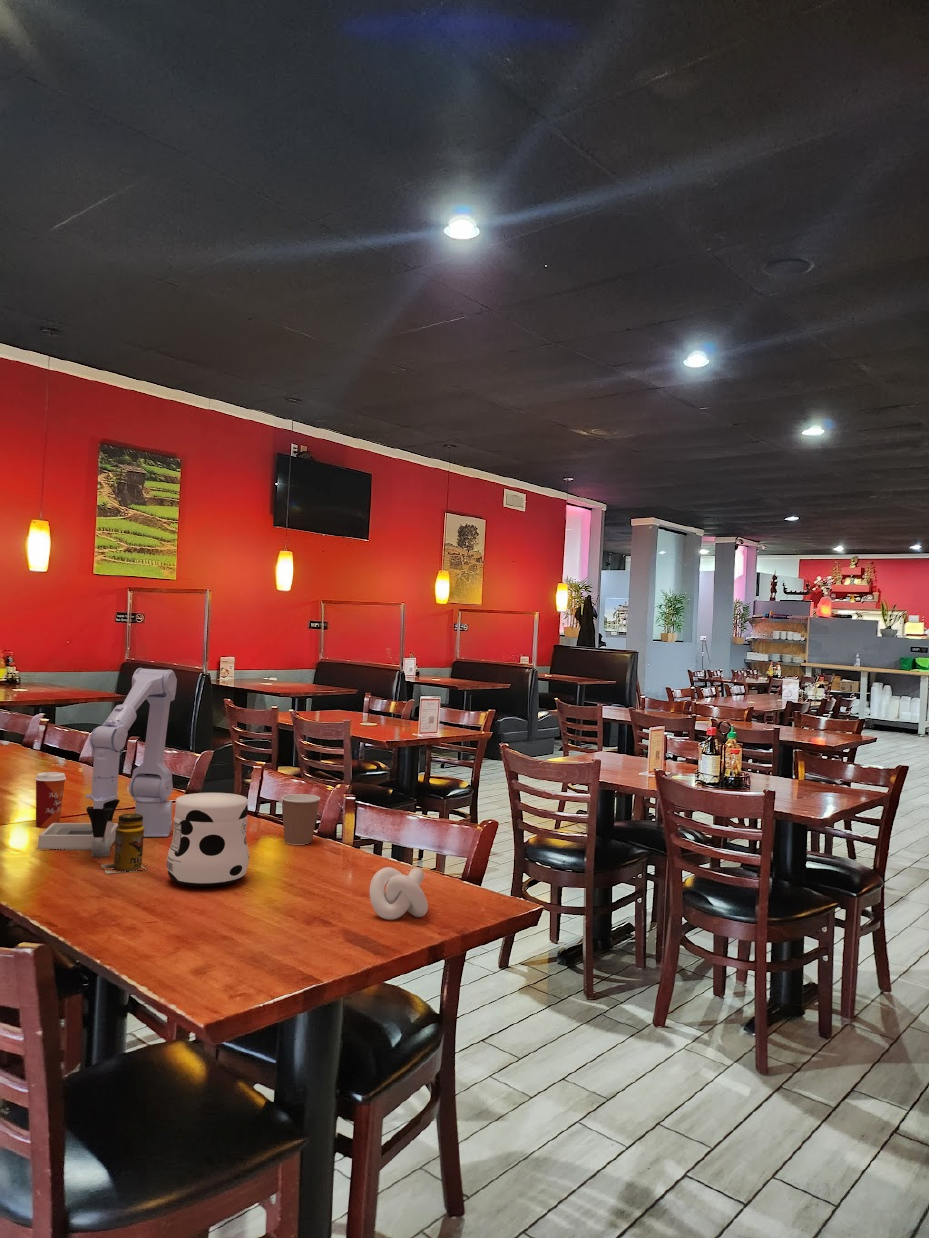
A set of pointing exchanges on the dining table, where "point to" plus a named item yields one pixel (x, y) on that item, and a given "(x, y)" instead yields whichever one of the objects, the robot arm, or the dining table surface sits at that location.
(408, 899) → the white knot sculpture
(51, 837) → the box
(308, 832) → the coffee cup
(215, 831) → the milk container
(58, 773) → the paper cup
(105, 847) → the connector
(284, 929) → the dining table surface
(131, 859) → the condiment
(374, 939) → the dining table surface
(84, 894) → the dining table surface
